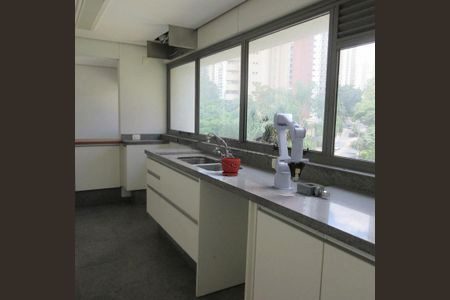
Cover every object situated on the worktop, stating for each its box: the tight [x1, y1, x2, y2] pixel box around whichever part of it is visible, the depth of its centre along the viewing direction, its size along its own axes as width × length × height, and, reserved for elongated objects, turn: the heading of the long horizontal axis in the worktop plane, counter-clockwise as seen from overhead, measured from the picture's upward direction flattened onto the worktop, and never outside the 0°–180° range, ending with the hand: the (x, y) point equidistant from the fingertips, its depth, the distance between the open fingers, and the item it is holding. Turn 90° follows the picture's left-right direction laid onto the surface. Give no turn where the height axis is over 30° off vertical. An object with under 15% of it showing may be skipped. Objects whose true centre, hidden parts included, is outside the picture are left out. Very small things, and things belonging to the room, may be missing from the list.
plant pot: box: [221, 157, 241, 177], centre depth 222 cm, size 13×13×12 cm
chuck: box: [296, 182, 331, 198], centre depth 167 cm, size 18×10×5 cm, turn 26°
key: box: [292, 168, 300, 183], centre depth 166 cm, size 3×3×7 cm
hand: (295, 176), depth 166 cm, fingers closed on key, 3 cm apart
